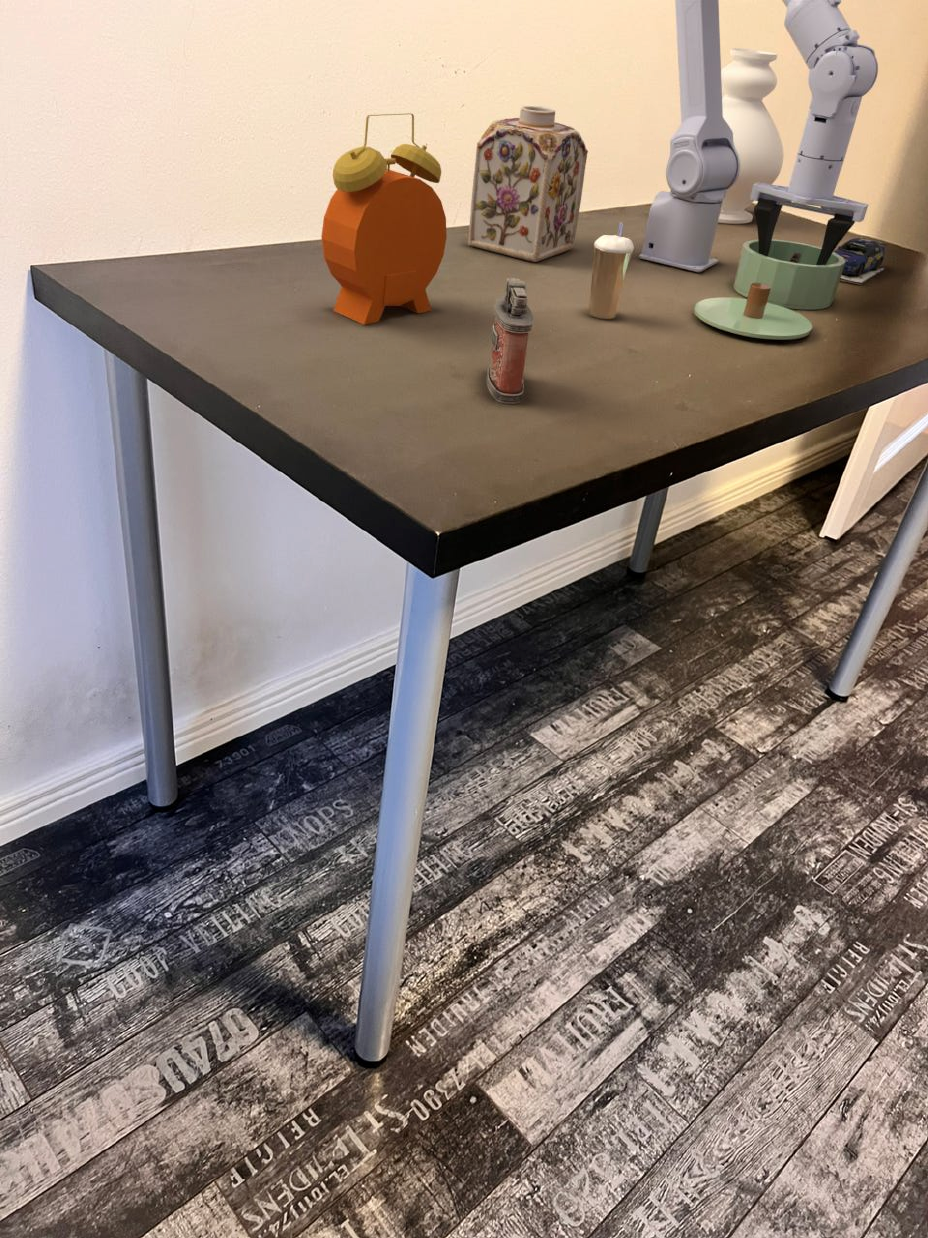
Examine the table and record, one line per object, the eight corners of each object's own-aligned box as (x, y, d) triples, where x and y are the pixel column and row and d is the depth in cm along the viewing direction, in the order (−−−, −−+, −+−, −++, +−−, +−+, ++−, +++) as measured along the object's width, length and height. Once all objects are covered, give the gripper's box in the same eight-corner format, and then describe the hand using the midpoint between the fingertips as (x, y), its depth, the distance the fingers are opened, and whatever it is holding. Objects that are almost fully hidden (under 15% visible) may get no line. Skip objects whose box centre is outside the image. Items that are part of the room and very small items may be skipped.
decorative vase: (666, 218, 162) (701, 48, 147) (665, 198, 176) (696, 41, 162) (772, 232, 160) (817, 62, 146) (762, 210, 175) (802, 53, 160)
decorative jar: (575, 250, 139) (596, 111, 128) (537, 264, 130) (556, 117, 120) (505, 232, 143) (520, 98, 133) (464, 245, 135) (476, 102, 125)
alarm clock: (407, 294, 114) (417, 107, 103) (442, 308, 111) (457, 116, 99) (318, 311, 106) (318, 110, 94) (353, 327, 103) (358, 121, 91)
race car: (858, 285, 137) (869, 253, 134) (813, 274, 139) (822, 242, 137) (885, 267, 147) (896, 237, 145) (843, 257, 150) (852, 227, 147)
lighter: (483, 370, 96) (493, 268, 90) (516, 372, 96) (528, 271, 90) (491, 402, 89) (503, 295, 83) (527, 404, 90) (541, 297, 84)
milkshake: (625, 311, 116) (641, 225, 111) (616, 323, 112) (632, 235, 106) (589, 304, 117) (603, 219, 111) (579, 316, 113) (593, 228, 107)
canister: (719, 292, 127) (730, 249, 124) (750, 273, 137) (761, 233, 134) (817, 316, 122) (830, 272, 119) (842, 295, 132) (855, 254, 128)
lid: (675, 323, 114) (684, 283, 112) (715, 298, 125) (724, 261, 122) (791, 353, 109) (803, 312, 106) (822, 325, 119) (834, 287, 116)
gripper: (755, 149, 119) (728, 260, 127) (871, 170, 114) (836, 285, 122) (771, 143, 125) (744, 251, 132) (884, 164, 119) (849, 275, 127)
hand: (789, 267), depth 127 cm, fingers open, 7 cm apart
